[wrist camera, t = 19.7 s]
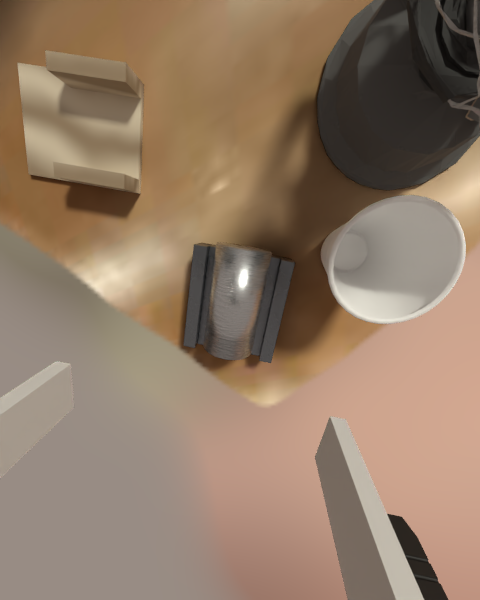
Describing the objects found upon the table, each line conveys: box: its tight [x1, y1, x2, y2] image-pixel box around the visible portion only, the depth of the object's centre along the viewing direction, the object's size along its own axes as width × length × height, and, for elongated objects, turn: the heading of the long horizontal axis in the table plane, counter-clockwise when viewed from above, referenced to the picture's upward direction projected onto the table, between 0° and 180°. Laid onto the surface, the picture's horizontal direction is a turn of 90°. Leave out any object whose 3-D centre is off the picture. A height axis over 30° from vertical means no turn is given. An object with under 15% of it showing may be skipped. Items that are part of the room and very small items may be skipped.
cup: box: [321, 195, 466, 324], centre depth 23 cm, size 10×10×11 cm
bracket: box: [18, 50, 144, 194], centre depth 25 cm, size 11×14×4 cm
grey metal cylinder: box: [203, 242, 272, 360], centre depth 27 cm, size 6×12×6 cm, turn 171°
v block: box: [184, 243, 295, 363], centre depth 30 cm, size 13×12×4 cm
